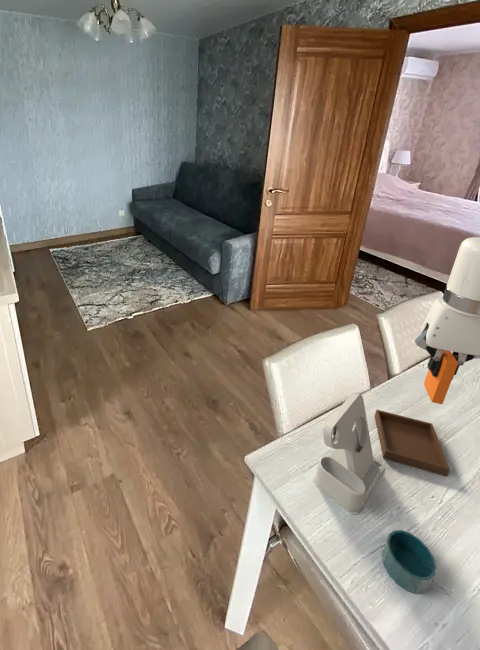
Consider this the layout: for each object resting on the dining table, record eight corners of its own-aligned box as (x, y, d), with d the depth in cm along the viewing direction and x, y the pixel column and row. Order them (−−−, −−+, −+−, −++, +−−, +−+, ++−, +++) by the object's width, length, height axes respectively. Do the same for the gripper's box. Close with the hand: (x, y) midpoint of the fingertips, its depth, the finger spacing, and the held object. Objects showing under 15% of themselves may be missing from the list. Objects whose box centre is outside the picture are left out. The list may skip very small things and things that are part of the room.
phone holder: (354, 520, 72) (373, 461, 65) (309, 483, 79) (322, 426, 72) (385, 467, 82) (404, 411, 76) (343, 438, 89) (357, 385, 83)
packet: (433, 386, 78) (448, 346, 74) (442, 404, 73) (458, 363, 69) (423, 383, 79) (437, 344, 75) (431, 402, 74) (446, 361, 70)
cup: (421, 555, 66) (428, 539, 64) (433, 603, 60) (442, 587, 58) (378, 539, 69) (384, 524, 67) (385, 584, 62) (392, 568, 60)
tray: (429, 430, 92) (432, 423, 91) (446, 476, 80) (450, 469, 79) (374, 415, 96) (376, 409, 95) (383, 458, 85) (385, 451, 84)
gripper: (507, 297, 68) (476, 370, 75) (415, 285, 73) (394, 354, 80) (529, 318, 62) (493, 396, 68) (426, 302, 66) (402, 377, 73)
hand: (440, 373), depth 74 cm, fingers closed on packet, 2 cm apart
